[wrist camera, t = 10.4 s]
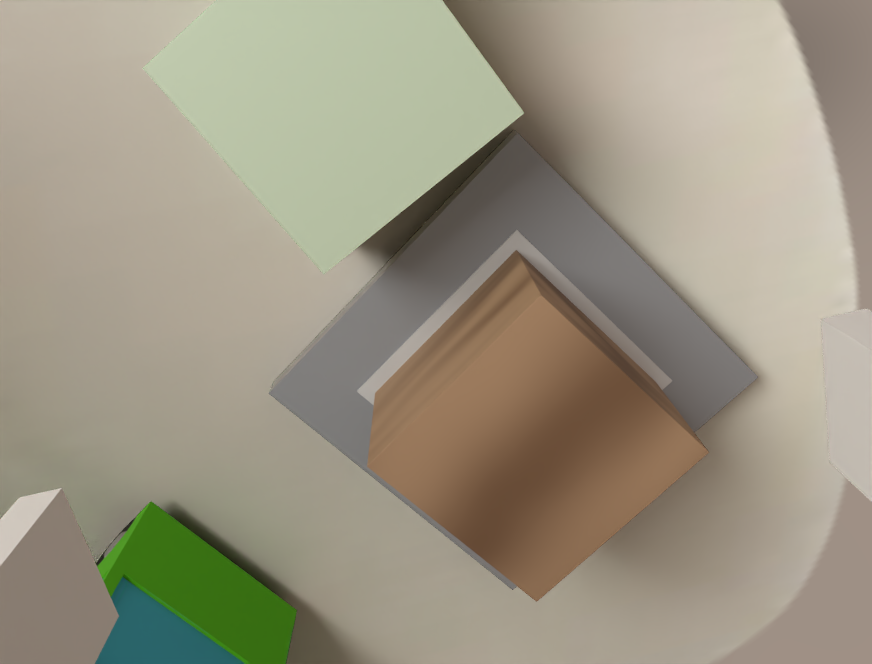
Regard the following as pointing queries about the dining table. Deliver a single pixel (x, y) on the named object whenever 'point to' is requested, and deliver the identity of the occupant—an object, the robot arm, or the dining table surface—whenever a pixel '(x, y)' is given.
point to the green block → (334, 107)
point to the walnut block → (527, 430)
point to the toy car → (187, 601)
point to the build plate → (468, 269)
